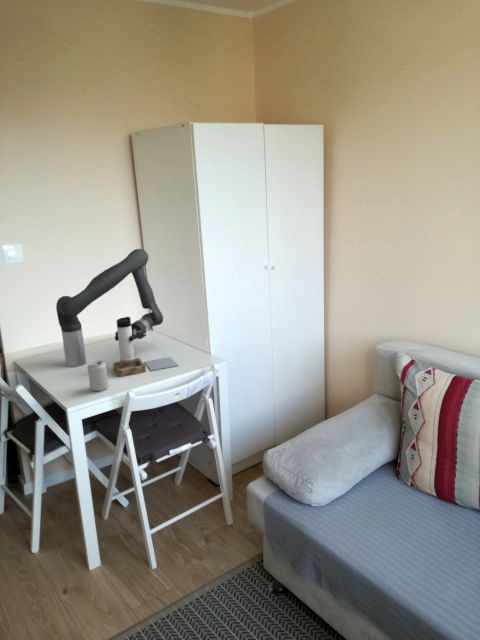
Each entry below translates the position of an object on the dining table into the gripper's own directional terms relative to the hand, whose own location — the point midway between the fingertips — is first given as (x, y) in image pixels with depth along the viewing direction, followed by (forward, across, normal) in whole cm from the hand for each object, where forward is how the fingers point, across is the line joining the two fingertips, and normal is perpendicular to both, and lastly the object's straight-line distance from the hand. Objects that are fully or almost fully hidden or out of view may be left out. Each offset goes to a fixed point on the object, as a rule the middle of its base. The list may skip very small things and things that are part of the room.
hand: (123, 339), depth 229 cm
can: (+19, -3, +16) cm, 25 cm away
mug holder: (-3, 0, +16) cm, 16 cm away
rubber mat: (-12, +12, +16) cm, 23 cm away
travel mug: (-2, 0, +11) cm, 12 cm away
